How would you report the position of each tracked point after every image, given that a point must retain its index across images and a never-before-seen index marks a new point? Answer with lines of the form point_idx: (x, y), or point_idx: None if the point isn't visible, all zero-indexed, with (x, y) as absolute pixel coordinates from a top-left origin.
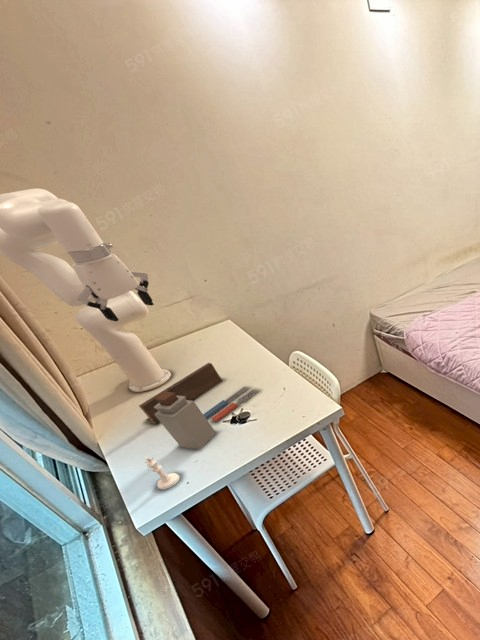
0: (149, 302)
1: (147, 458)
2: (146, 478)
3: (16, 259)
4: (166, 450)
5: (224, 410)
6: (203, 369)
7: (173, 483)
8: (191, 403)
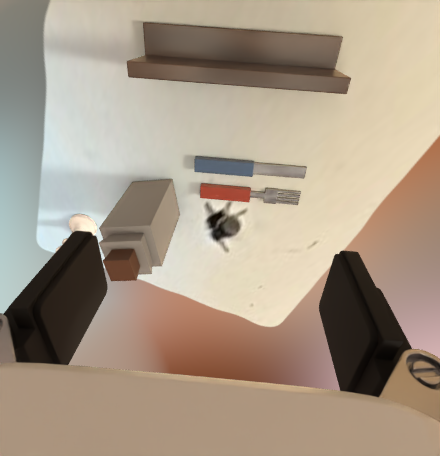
0: (324, 326)
1: None
2: (67, 188)
3: None
4: (115, 164)
5: (227, 192)
6: (315, 91)
7: None
8: (156, 265)
